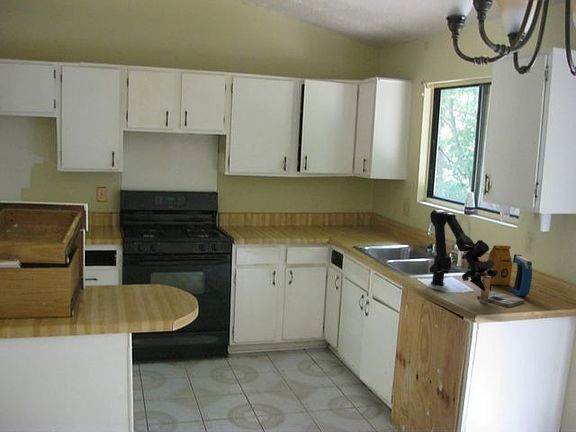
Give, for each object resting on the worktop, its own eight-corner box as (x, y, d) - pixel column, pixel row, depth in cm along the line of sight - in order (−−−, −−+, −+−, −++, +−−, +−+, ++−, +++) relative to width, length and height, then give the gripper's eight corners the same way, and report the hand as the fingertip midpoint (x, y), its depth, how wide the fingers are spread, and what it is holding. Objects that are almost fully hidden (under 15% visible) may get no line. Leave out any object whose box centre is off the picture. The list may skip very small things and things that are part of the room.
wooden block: (480, 301, 285) (483, 275, 283) (487, 302, 284) (491, 276, 282) (479, 303, 282) (483, 276, 280) (487, 304, 280) (491, 278, 278)
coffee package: (512, 286, 320) (518, 247, 317) (492, 286, 317) (498, 246, 314) (501, 281, 330) (506, 243, 327) (482, 281, 327) (487, 242, 323)
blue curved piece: (516, 290, 313) (521, 254, 310) (529, 299, 297) (534, 261, 294) (508, 289, 313) (512, 253, 310) (520, 298, 297) (525, 260, 294)
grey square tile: (477, 298, 290) (477, 295, 290) (494, 294, 301) (494, 291, 301) (507, 307, 278) (507, 304, 278) (524, 302, 289) (524, 299, 289)
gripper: (469, 254, 278) (483, 283, 270) (498, 253, 287) (512, 281, 279) (455, 266, 286) (469, 294, 278) (484, 265, 295) (497, 292, 287)
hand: (487, 290), depth 280 cm, fingers open, 4 cm apart
